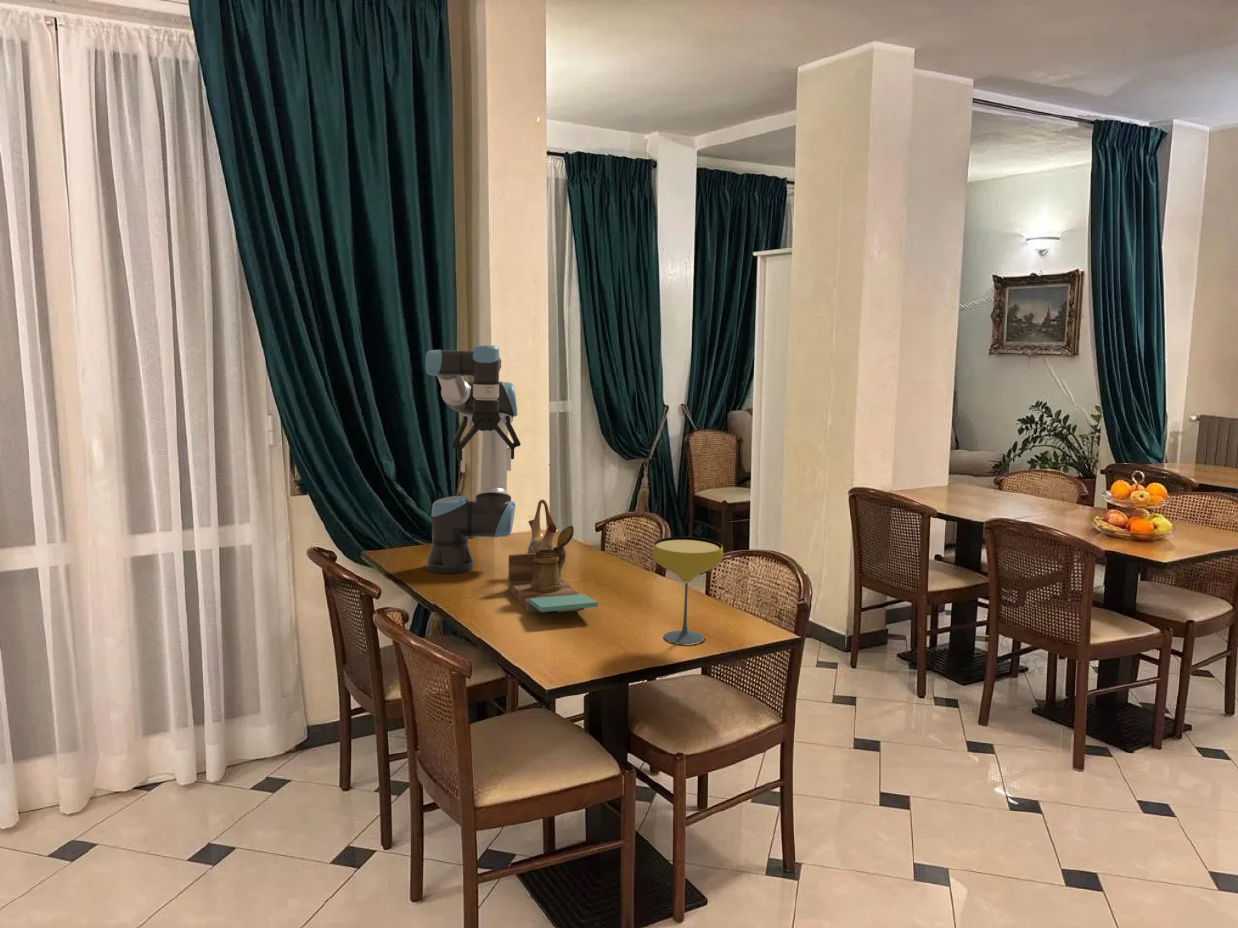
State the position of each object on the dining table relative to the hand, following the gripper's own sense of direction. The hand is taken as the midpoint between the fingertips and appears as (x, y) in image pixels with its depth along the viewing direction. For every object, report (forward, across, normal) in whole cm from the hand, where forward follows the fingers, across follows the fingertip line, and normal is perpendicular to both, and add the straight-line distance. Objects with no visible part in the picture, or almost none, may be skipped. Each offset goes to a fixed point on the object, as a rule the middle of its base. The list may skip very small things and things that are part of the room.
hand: (485, 471), depth 266 cm
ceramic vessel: (+37, +21, +12) cm, 44 cm away
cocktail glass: (+37, +40, -55) cm, 77 cm away
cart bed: (+37, +15, -11) cm, 41 cm away
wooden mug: (+34, +18, -11) cm, 40 cm away
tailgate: (+34, +15, -24) cm, 44 cm away
